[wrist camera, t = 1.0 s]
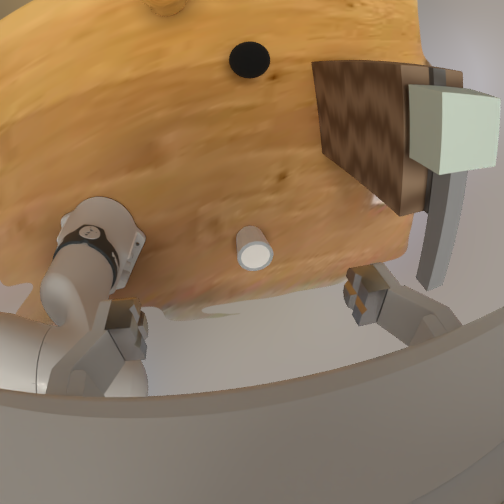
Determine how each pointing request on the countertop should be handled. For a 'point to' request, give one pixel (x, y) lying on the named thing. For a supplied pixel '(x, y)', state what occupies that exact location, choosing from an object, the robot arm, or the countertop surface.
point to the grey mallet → (449, 161)
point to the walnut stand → (376, 125)
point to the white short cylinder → (253, 249)
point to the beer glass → (165, 6)
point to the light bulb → (249, 59)
